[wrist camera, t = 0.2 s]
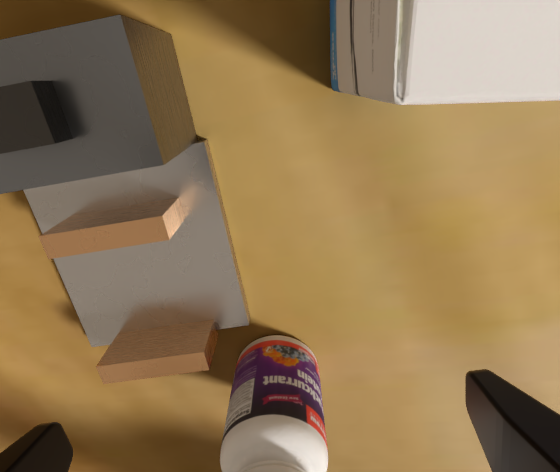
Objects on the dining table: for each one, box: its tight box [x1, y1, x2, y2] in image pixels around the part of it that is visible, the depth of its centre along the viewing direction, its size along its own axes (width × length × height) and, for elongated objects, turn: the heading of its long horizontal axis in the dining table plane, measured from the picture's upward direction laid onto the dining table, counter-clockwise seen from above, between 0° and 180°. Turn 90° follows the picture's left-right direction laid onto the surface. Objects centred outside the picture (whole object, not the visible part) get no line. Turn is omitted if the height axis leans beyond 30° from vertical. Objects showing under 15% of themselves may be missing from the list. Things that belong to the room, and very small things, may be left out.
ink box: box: [330, 0, 560, 105], centre depth 13 cm, size 8×5×12 cm, turn 93°
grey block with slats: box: [0, 15, 250, 384], centre depth 18 cm, size 16×10×7 cm, turn 10°
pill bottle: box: [220, 335, 328, 472], centre depth 21 cm, size 5×5×10 cm
